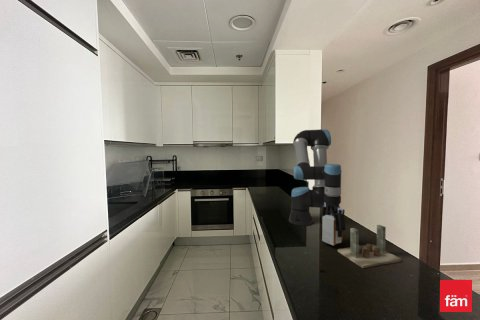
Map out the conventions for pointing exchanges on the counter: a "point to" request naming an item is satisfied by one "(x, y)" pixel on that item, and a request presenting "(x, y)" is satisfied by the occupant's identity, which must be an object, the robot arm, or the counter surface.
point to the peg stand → (368, 250)
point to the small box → (329, 229)
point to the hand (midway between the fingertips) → (332, 238)
